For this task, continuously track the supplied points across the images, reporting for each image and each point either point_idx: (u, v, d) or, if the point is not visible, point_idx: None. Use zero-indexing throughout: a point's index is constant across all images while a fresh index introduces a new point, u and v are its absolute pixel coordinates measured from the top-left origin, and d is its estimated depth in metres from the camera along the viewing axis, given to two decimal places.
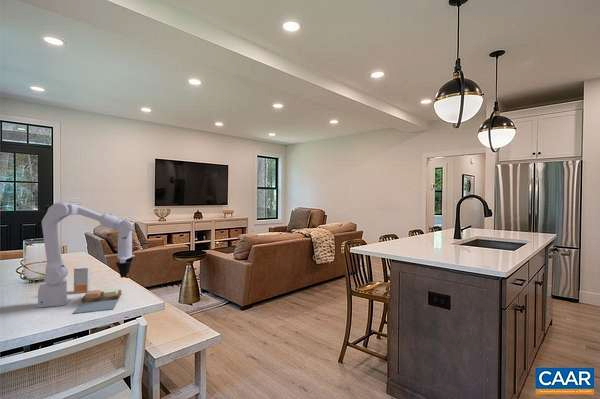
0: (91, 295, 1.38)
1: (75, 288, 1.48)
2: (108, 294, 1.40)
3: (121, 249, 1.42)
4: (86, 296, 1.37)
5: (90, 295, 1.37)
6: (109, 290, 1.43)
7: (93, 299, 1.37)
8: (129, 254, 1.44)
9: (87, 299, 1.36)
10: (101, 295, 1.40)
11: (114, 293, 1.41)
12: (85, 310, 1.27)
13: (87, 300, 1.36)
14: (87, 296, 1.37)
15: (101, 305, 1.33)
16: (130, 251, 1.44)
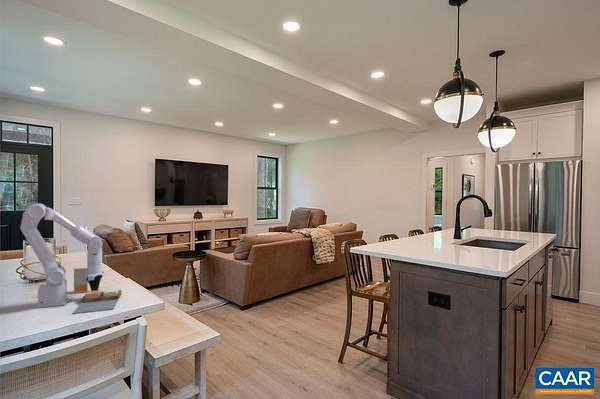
0: (91, 295, 1.37)
1: (75, 288, 1.48)
2: (108, 294, 1.40)
3: (90, 266, 1.40)
4: (86, 296, 1.37)
5: (90, 295, 1.37)
6: (109, 290, 1.43)
7: (93, 299, 1.37)
8: (99, 270, 1.42)
9: (87, 299, 1.36)
10: (101, 295, 1.40)
11: (114, 293, 1.41)
12: (85, 310, 1.27)
13: (87, 300, 1.36)
14: (87, 296, 1.37)
15: (101, 305, 1.33)
16: (100, 267, 1.42)
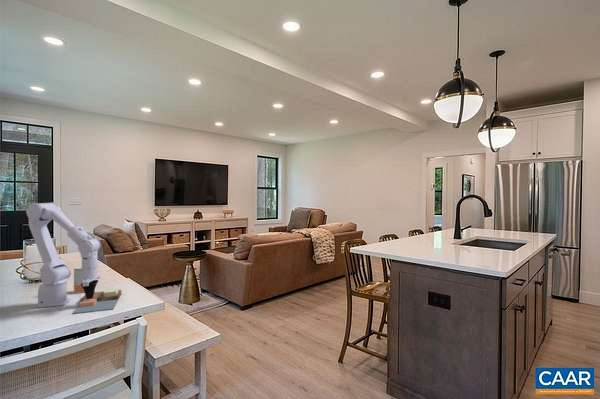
0: (86, 304, 1.31)
1: (75, 288, 1.48)
2: (108, 294, 1.40)
3: (85, 271, 1.31)
4: (81, 305, 1.30)
5: (85, 304, 1.31)
6: (109, 290, 1.43)
7: None
8: (94, 276, 1.33)
9: None
10: (101, 295, 1.40)
11: (114, 293, 1.41)
12: (85, 310, 1.27)
13: None
14: (82, 305, 1.30)
15: (101, 305, 1.33)
16: (95, 272, 1.34)
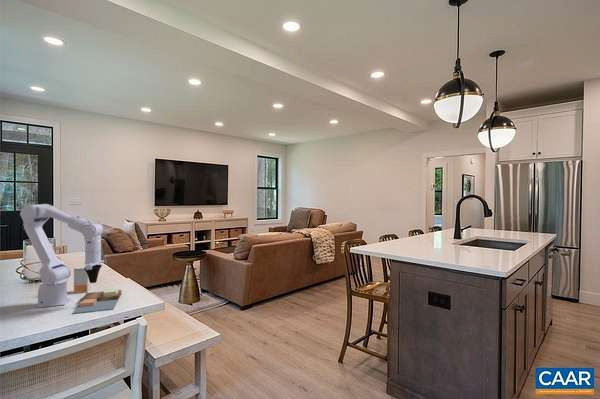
0: (86, 304, 1.31)
1: (75, 288, 1.48)
2: (108, 294, 1.40)
3: (88, 254, 1.31)
4: (81, 305, 1.30)
5: (85, 304, 1.31)
6: (109, 290, 1.43)
7: None
8: (97, 260, 1.33)
9: None
10: (101, 295, 1.40)
11: (114, 293, 1.41)
12: (85, 310, 1.27)
13: None
14: (82, 305, 1.30)
15: (101, 305, 1.33)
16: (99, 256, 1.34)
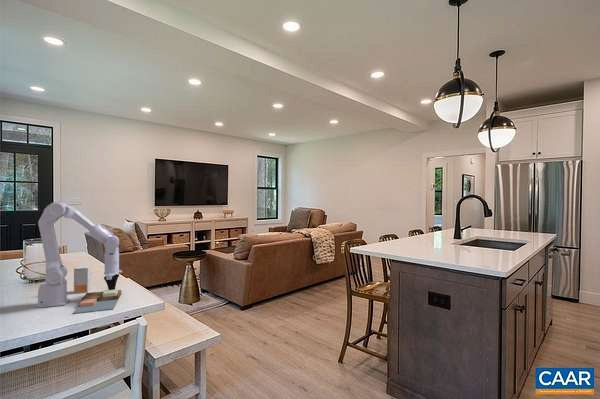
0: (86, 304, 1.31)
1: (75, 288, 1.48)
2: (107, 295, 1.39)
3: (108, 265, 1.41)
4: (81, 305, 1.30)
5: (85, 304, 1.31)
6: (108, 291, 1.42)
7: None
8: (116, 270, 1.43)
9: None
10: (101, 295, 1.40)
11: (113, 294, 1.39)
12: (85, 310, 1.27)
13: None
14: (82, 305, 1.30)
15: (101, 305, 1.33)
16: (117, 267, 1.44)
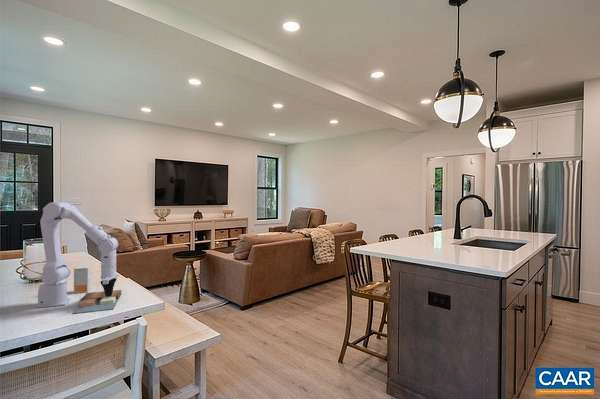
0: (86, 304, 1.31)
1: (75, 288, 1.48)
2: (105, 303, 1.34)
3: (104, 269, 1.34)
4: (81, 305, 1.30)
5: (85, 304, 1.31)
6: (106, 298, 1.37)
7: None
8: (113, 274, 1.36)
9: None
10: (101, 295, 1.40)
11: (111, 302, 1.34)
12: (85, 310, 1.27)
13: None
14: (82, 305, 1.30)
15: (101, 305, 1.33)
16: (114, 271, 1.37)
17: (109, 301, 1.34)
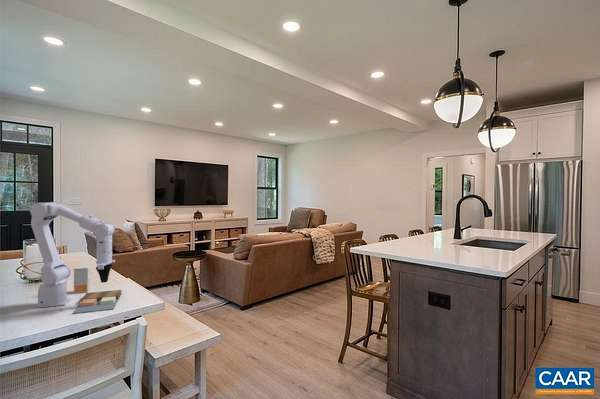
0: (86, 304, 1.31)
1: (75, 288, 1.48)
2: (105, 303, 1.34)
3: (100, 254, 1.33)
4: (81, 305, 1.30)
5: (85, 304, 1.31)
6: (106, 298, 1.37)
7: None
8: (109, 259, 1.35)
9: None
10: (101, 295, 1.40)
11: (111, 302, 1.34)
12: (85, 310, 1.27)
13: None
14: (82, 305, 1.30)
15: (101, 305, 1.33)
16: (110, 256, 1.35)
17: (109, 301, 1.34)
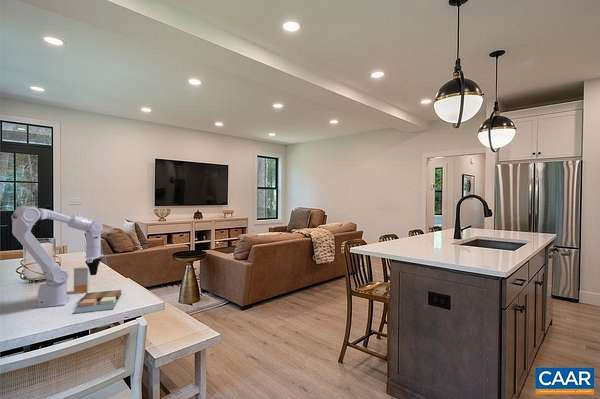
0: (86, 304, 1.31)
1: (75, 288, 1.48)
2: (105, 303, 1.34)
3: (89, 249, 1.43)
4: (81, 305, 1.30)
5: (85, 304, 1.31)
6: (106, 298, 1.37)
7: None
8: (97, 254, 1.45)
9: None
10: (101, 295, 1.40)
11: (111, 302, 1.34)
12: (85, 310, 1.27)
13: None
14: (82, 305, 1.30)
15: (101, 305, 1.33)
16: (98, 251, 1.46)
17: (109, 301, 1.34)
